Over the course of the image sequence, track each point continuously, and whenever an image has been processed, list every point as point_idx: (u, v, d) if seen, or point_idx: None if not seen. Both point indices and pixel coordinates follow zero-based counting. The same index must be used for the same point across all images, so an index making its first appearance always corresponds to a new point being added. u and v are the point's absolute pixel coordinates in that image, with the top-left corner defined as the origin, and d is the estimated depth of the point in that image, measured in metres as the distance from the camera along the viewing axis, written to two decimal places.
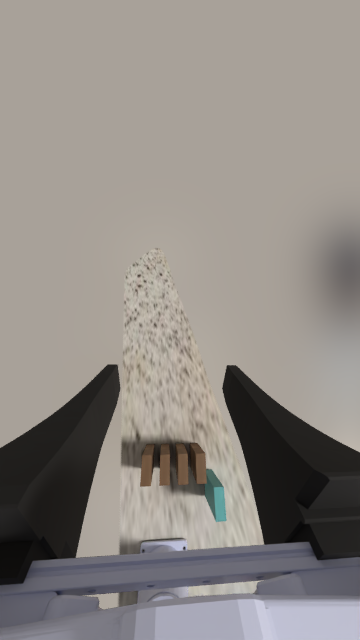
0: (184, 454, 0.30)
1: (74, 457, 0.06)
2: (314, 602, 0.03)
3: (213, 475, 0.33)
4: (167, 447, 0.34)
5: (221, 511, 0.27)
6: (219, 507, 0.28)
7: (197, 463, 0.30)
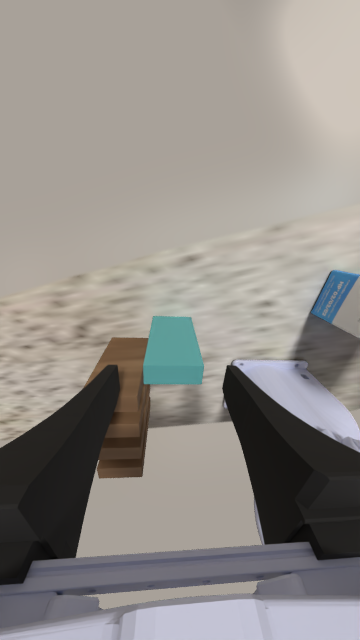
0: None
1: (74, 457, 0.06)
2: (314, 602, 0.03)
3: None
4: None
5: (186, 373, 0.12)
6: (179, 376, 0.12)
7: None
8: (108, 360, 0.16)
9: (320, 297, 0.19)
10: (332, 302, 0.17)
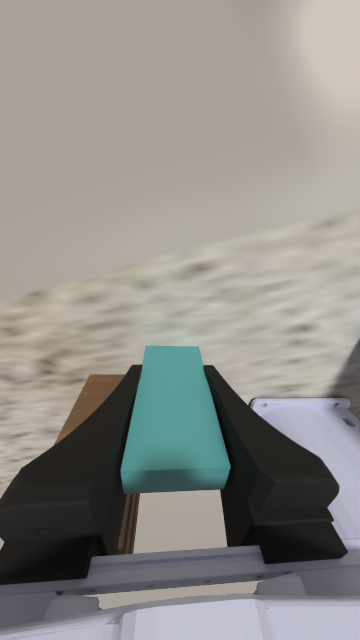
0: None
1: (118, 455, 0.07)
2: (314, 602, 0.03)
3: None
4: None
5: (199, 477, 0.07)
6: (186, 481, 0.07)
7: None
8: (78, 424, 0.11)
9: None
10: None
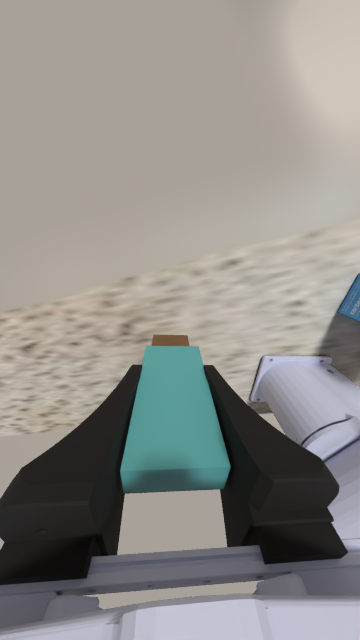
0: None
1: (118, 455, 0.07)
2: (314, 602, 0.03)
3: None
4: None
5: (199, 477, 0.07)
6: (186, 481, 0.07)
7: None
8: None
9: (348, 297, 0.20)
10: None
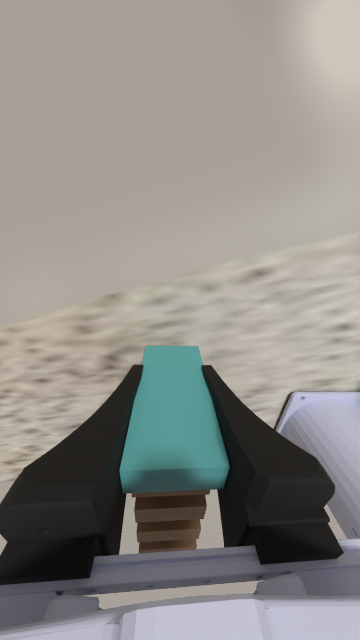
0: None
1: (119, 455, 0.07)
2: (314, 602, 0.03)
3: None
4: None
5: (198, 477, 0.07)
6: (186, 481, 0.07)
7: (158, 494, 0.09)
8: None
9: None
10: None
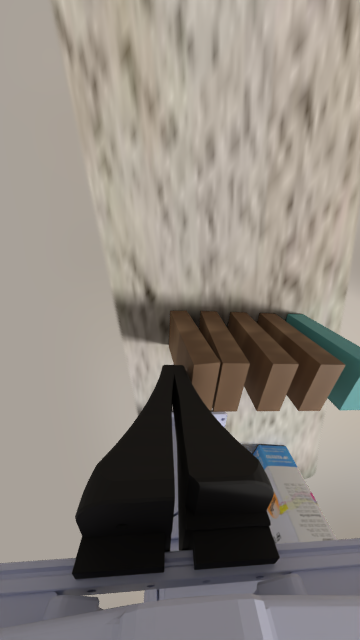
0: (288, 364, 0.11)
1: None
2: (314, 602, 0.03)
3: (322, 328, 0.15)
4: (221, 325, 0.15)
5: (359, 398, 0.12)
6: (358, 393, 0.12)
7: (315, 381, 0.11)
8: None
9: (270, 447, 0.27)
10: (276, 458, 0.26)
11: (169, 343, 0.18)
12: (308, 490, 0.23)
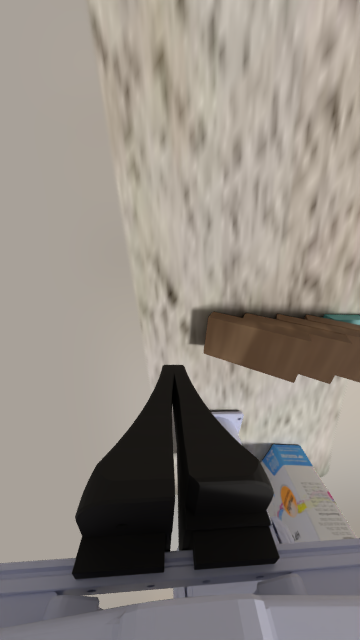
0: None
1: None
2: (314, 602, 0.03)
3: (353, 315, 0.19)
4: (279, 321, 0.16)
5: None
6: None
7: None
8: None
9: (285, 446, 0.27)
10: (291, 457, 0.26)
11: (206, 349, 0.18)
12: (325, 489, 0.23)
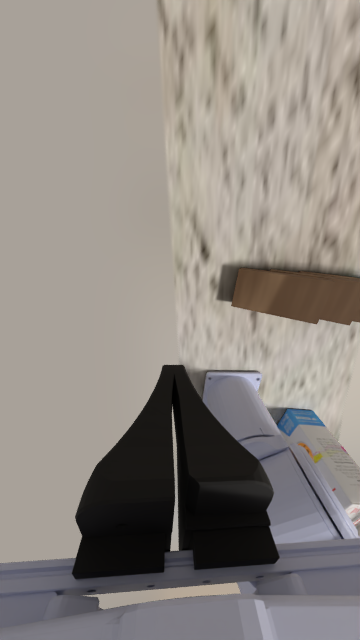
0: None
1: None
2: (314, 602, 0.03)
3: None
4: (303, 273, 0.18)
5: None
6: None
7: None
8: None
9: (298, 410, 0.29)
10: (305, 419, 0.28)
11: (234, 301, 0.19)
12: (339, 444, 0.25)
